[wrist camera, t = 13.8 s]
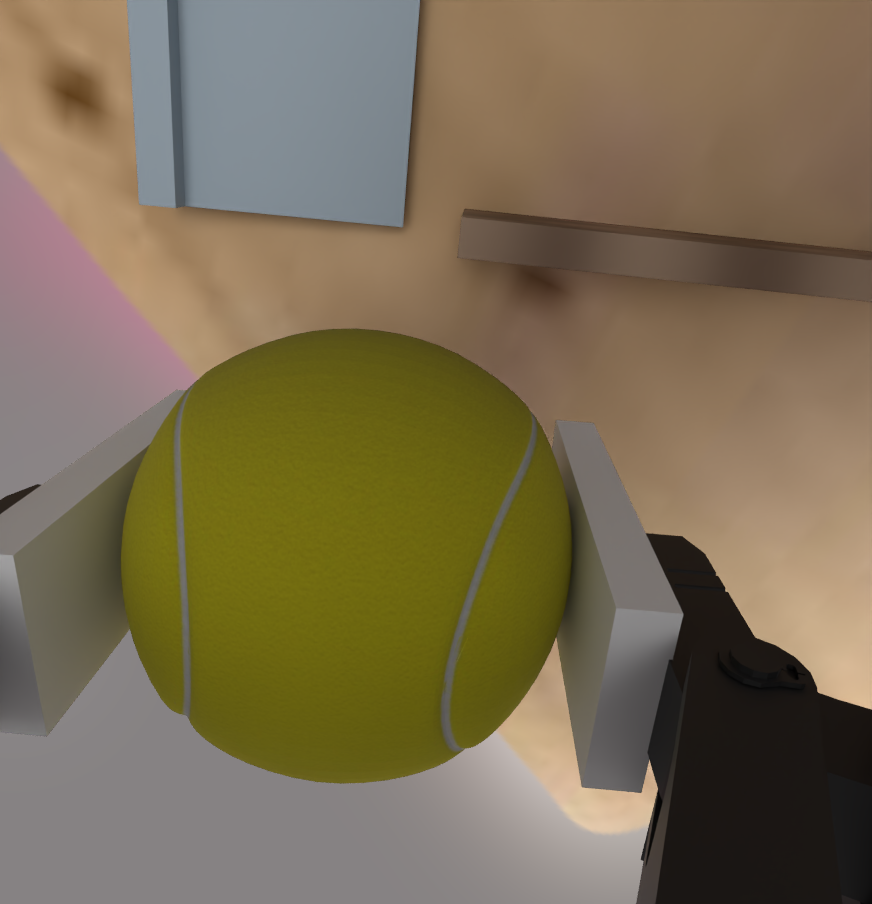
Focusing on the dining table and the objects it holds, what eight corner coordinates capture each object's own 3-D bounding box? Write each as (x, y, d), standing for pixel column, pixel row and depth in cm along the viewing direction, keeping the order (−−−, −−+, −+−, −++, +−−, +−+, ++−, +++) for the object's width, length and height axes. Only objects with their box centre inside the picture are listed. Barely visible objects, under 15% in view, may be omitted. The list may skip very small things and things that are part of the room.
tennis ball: (218, 583, 16) (46, 863, 9) (215, 275, 13) (-26, 370, 7) (519, 619, 16) (552, 924, 9) (575, 318, 13) (676, 454, 7)
